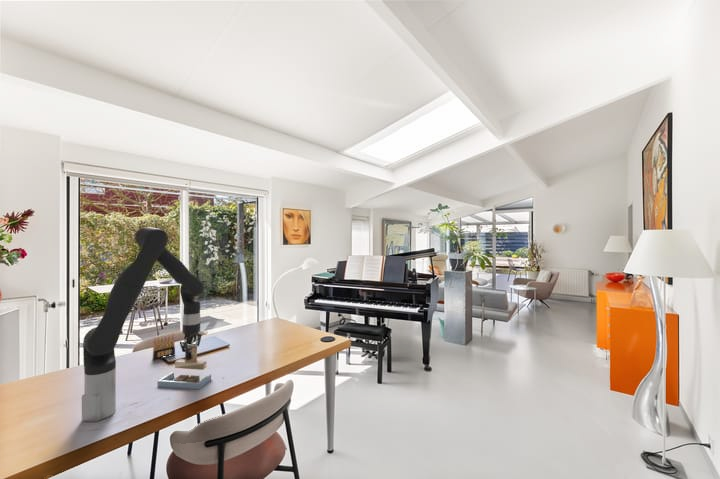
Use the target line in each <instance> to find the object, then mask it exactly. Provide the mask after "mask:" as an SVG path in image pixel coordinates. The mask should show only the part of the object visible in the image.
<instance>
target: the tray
mask: <svg viewBox="0 0 720 479" xmlns="http://www.w3.org/2000/svg"><path fill="white" fill-rule="evenodd" d="M174 378H175V371H171V372H170V373H168V374H166V375H165V376H163V377H162V378H160V379H159V380H157V387H159V388H175V389H189V390H190V389H192V390H200V389H201V388H203V386H205V385H206V384H208V383H209V382H211V380H212V374H211V373H209V374H207V375H206V376H205V377H204V378H202V379H200V380H199V381H198V382H182V381H174V380H172V379H174Z"/></svg>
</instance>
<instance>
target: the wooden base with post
mask: <svg viewBox="0 0 720 479" xmlns="http://www.w3.org/2000/svg"><path fill="white" fill-rule="evenodd" d="M188 349H189V347H188ZM197 359H198V346H193V347H192V349H191V359H190V360H186V352H184V359H183V358H182V359H181V358H180V359H176V361H174V369H183V370H184V369H186V370H188V369H189V370H198V371H199V370H200V371H204V369H206V368H207V362H208V361H207V360H197Z"/></svg>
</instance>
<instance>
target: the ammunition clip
mask: <svg viewBox="0 0 720 479" xmlns="http://www.w3.org/2000/svg"><path fill="white" fill-rule="evenodd" d="M152 348H153V349H152V360H153V361H159V360H161V359H163V358H162V357H163V356H169V355H174V354H175V355H176V350H175V349H176V347H175V335H174V334H172V335H168V337H167V335H165V336H161V339H160V337H159V336H158V338H157V339H156V337H154V339H153V346H152ZM175 355H174V356H175Z"/></svg>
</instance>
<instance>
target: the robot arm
mask: <svg viewBox="0 0 720 479" xmlns="http://www.w3.org/2000/svg"><path fill="white" fill-rule="evenodd" d="M134 240H135V242H136V244H137V245H138V246H139V247H140V251H139V253H138V254H137V256H136V258H135V259H134V260H133V262H132V263H131V264H129V265H128V266H127V267H126V268H125V269H124V270H122V272H121V273H120V274H119V276H118V277H117V279H116V280H115V282H114V285H113V287H112V288H111V290H110V293H109V296H108V299H107V302H106V306H105V310H104V312H103V313H104V314H103V315H102V318H101V319H100V321H99V322H98V325H96V327H93V328H91V329H89V330H88V331H87V333H86V334H85V335H84V338H83V342H82V343H83V344H82V345H83V347H82V349H83V352H82V353H83V369H84V370H83V372H84V375H83V376H84V383H83V385H84V386H83V387H84V393H83V394H82V395H81V421H83V422H93V423H97V422H99V421H101V420H104V419H107V418H108V417H110V416H112V415H114V414H115V413H116V408H117V403H116V401H117V400H116V398H117V397H116V396H117V388H116V387H117V384H116V382H117V379H116V378H117V377H116V376H117V375H116V374H117V370H116V369H117V368H116V366H117V360H116V354H115V348H116V345H117V344H118V340H119V338H120V335H121V333H122V329H123V327H124V325H125V322H126V320H127V318H128V316H129V315H130V313H131V311H132V310H133V307H134V305H135V304H136V301H137V299H138V298H139V296H140V294H141V292H142V290H143V288H144V287H145V283H146V281H147V280H148V277H149V276H150V275H151V272H152V270H153V268H154V266H155V264H156V262H157V263H159V264H160V265H161V266H162V268H163V269H164V270H165V271H166V272H167V273H168V274H169V276H170V277H171V278H172V279H173V280H174V281H175V282H176V283H177V284H180V288H179V290H180V297H181V301H182V303H183V312H182V314H183V315H182V334H184V338H183V340H181V341H180V342H179V345H180V349H181V351H182V352H183V353H185V352H186V360H190V359H191V349H192V347H193V346H197V347H200V343H201V341H202V340H201V339H202V336H203V334H202V333H200V332H201V302H200V301H199V300H198V299H196V298H195V297H198V296H201V295H202V294H203V293H204V291H205V286H204V283H203V282H202V281H201V280H200V279H199V278H197V276H195V275H194V274H192V273H191V271H190V270H188V267H186V265H185V264H184V263H183V262H182V261H181V260H180V259H179V258H177V257H176V256H175V255H174V254H173V253H171V251H169V250H168V249H167V248H166V247H167V244H168V241H169V236H168V233H167V232H166V231H165V230H164V229H160V228H158V227H157V228H156V227H150V226H144V227H143V226H142V227H141V228H139V229H138V230H136V232H135V234H134ZM188 347H189V349H188Z"/></svg>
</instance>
